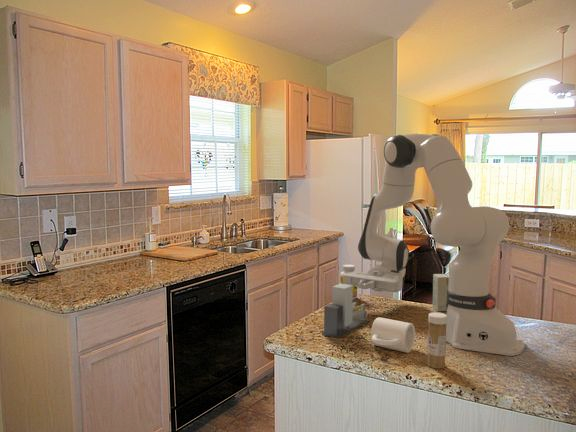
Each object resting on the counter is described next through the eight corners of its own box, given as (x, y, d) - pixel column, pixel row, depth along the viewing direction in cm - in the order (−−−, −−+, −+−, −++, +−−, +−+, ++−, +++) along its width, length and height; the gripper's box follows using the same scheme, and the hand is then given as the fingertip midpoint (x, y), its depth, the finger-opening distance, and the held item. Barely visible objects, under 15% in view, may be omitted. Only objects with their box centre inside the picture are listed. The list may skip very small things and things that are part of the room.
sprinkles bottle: (423, 363, 124) (424, 312, 123) (437, 360, 126) (439, 310, 124) (435, 370, 120) (436, 318, 118) (449, 367, 122) (451, 315, 120)
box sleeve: (352, 322, 151) (352, 285, 149) (344, 327, 147) (344, 288, 145) (340, 320, 153) (340, 283, 152) (332, 324, 149) (332, 286, 148)
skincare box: (449, 311, 169) (450, 277, 168) (437, 311, 169) (438, 277, 168) (444, 306, 175) (444, 273, 174) (432, 306, 175) (432, 273, 174)
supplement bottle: (356, 300, 183) (356, 267, 182) (339, 300, 184) (339, 267, 183) (357, 296, 189) (357, 264, 188) (340, 295, 191) (341, 263, 189)
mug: (382, 340, 141) (382, 314, 140) (415, 347, 135) (415, 320, 135) (363, 353, 131) (364, 325, 131) (398, 361, 126) (398, 332, 125)
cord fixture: (367, 321, 158) (368, 294, 157) (339, 338, 142) (339, 309, 142) (351, 318, 161) (351, 292, 161) (321, 334, 146) (322, 305, 145)
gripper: (353, 266, 177) (334, 272, 166) (406, 273, 165) (390, 281, 154) (353, 282, 178) (334, 290, 166) (406, 291, 166) (390, 300, 155)
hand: (362, 286), depth 160 cm, fingers closed
